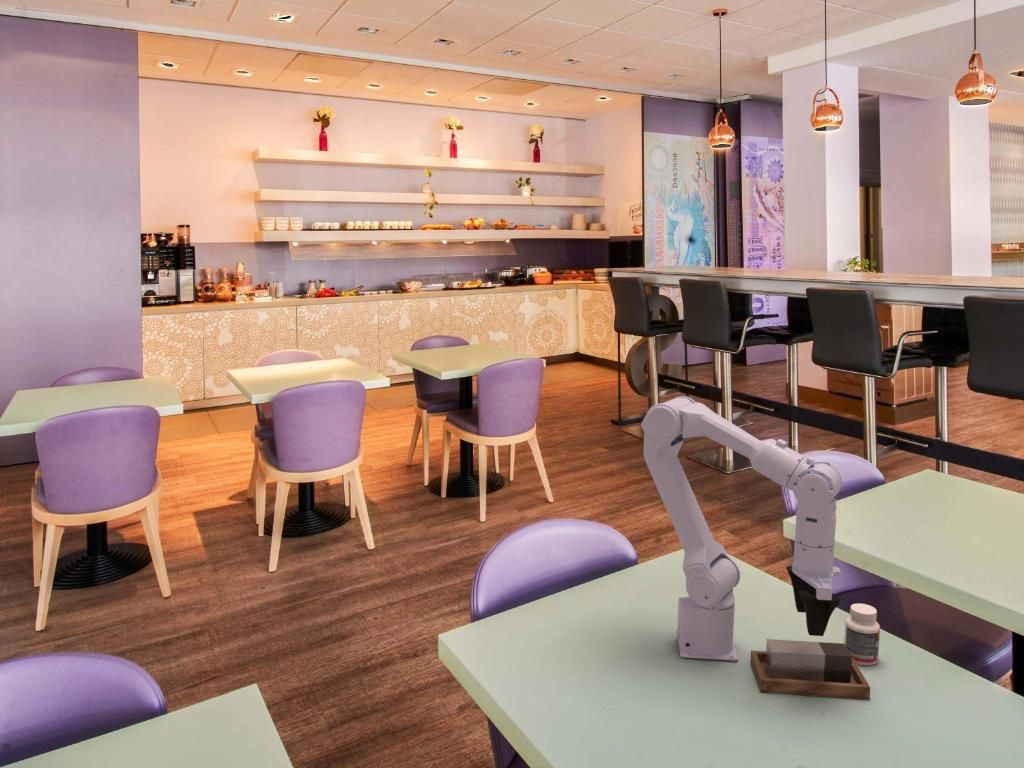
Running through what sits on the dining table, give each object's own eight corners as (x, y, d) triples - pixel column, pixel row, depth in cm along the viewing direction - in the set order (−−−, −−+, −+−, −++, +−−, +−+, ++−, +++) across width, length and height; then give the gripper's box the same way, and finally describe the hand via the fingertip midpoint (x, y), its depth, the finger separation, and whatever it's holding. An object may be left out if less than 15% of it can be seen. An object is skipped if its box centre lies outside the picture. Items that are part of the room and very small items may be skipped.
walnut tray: (760, 692, 114) (761, 680, 114) (750, 661, 123) (750, 650, 123) (869, 699, 112) (870, 687, 112) (851, 667, 121) (852, 656, 120)
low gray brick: (770, 681, 116) (771, 651, 115) (765, 667, 120) (766, 639, 119) (850, 686, 115) (852, 656, 114) (842, 672, 118) (844, 643, 118)
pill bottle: (881, 668, 121) (885, 617, 119) (847, 665, 122) (851, 614, 120) (872, 651, 126) (876, 602, 124) (840, 648, 127) (843, 600, 125)
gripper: (856, 560, 107) (850, 647, 109) (828, 526, 121) (823, 603, 123) (805, 558, 108) (800, 644, 110) (784, 524, 122) (780, 601, 124)
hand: (809, 622), depth 116 cm, fingers open, 7 cm apart
